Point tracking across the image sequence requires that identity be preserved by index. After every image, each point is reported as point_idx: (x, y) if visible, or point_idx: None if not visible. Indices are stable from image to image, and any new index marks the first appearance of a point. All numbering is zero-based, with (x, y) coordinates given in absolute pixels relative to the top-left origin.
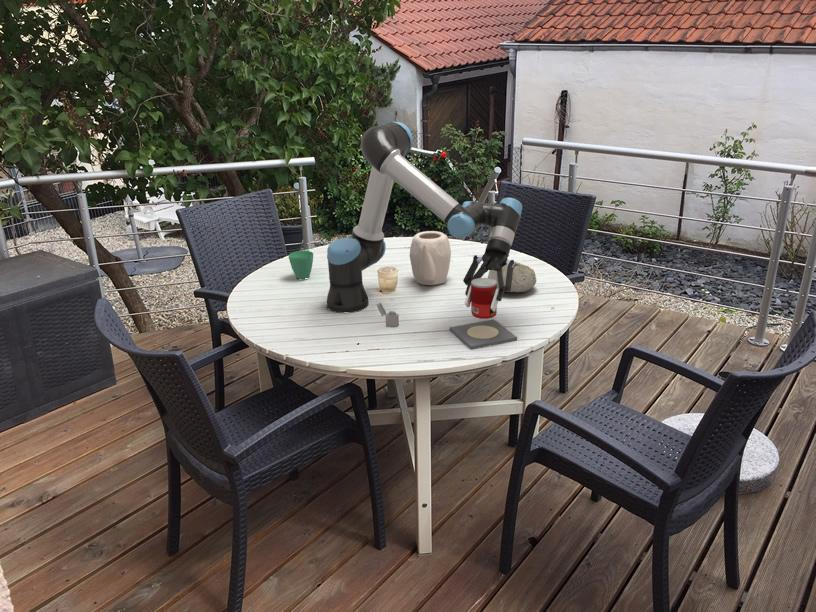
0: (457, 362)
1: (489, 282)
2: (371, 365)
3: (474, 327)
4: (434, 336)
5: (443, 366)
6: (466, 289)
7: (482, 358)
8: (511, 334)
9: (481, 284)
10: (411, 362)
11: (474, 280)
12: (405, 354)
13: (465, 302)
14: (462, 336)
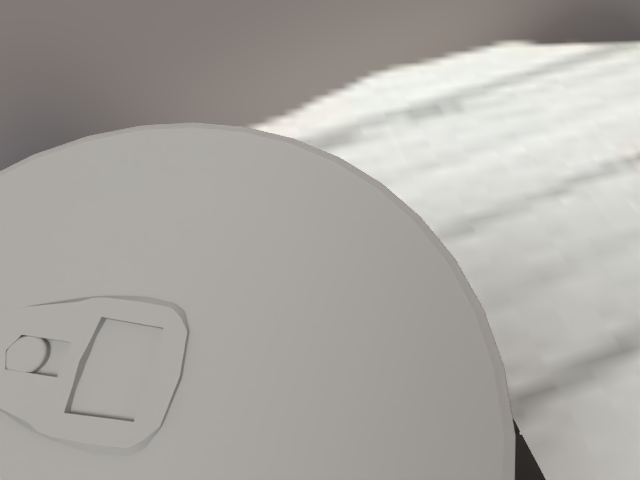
0: (319, 117)
1: (16, 455)
2: (580, 60)
3: None
4: (511, 325)
5: (359, 86)
6: (520, 436)
7: None
8: None
9: (226, 267)
10: (475, 93)
11: (460, 472)
12: (528, 139)
13: None
14: None
